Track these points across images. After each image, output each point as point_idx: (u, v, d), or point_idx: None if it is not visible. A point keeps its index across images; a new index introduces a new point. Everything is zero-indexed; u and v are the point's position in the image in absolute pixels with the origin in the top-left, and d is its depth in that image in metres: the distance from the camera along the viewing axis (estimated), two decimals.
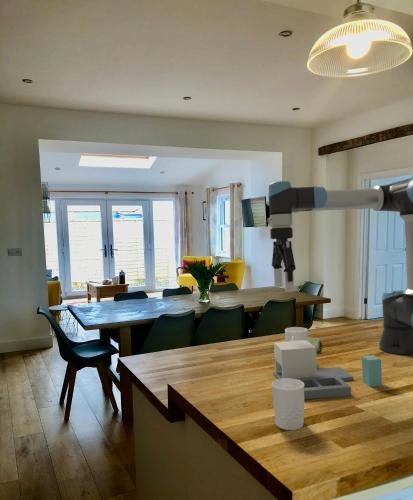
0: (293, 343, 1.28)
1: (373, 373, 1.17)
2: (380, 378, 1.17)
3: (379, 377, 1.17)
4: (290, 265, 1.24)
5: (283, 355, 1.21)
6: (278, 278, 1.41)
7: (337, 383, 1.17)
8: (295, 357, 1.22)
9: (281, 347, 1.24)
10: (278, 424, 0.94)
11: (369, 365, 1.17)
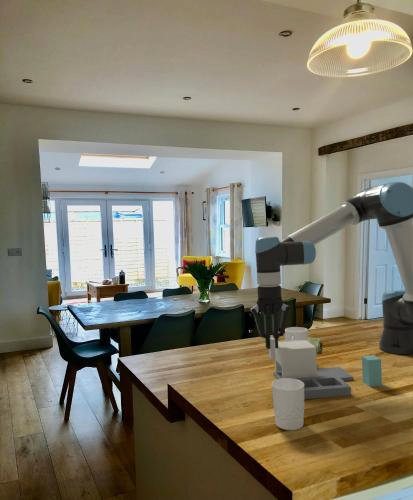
0: (293, 343, 1.28)
1: (374, 373, 1.17)
2: (380, 378, 1.17)
3: (379, 377, 1.17)
4: (259, 332, 1.25)
5: (283, 355, 1.21)
6: None
7: (337, 383, 1.17)
8: (295, 357, 1.22)
9: (281, 347, 1.24)
10: (278, 424, 0.94)
11: (369, 365, 1.17)
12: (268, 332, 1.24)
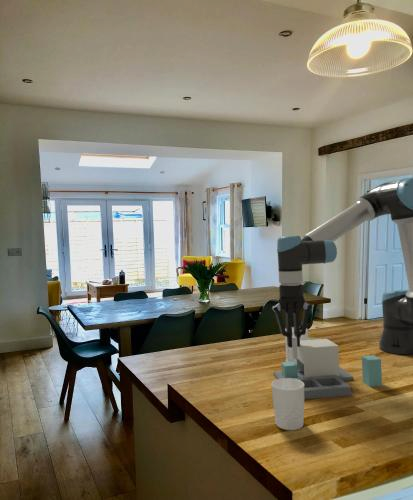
0: (314, 341, 1.28)
1: (373, 373, 1.17)
2: (380, 378, 1.17)
3: (379, 377, 1.17)
4: (281, 331, 1.26)
5: (306, 353, 1.22)
6: None
7: (337, 383, 1.17)
8: (317, 356, 1.22)
9: (303, 345, 1.24)
10: (278, 424, 0.94)
11: (369, 365, 1.17)
12: (290, 330, 1.25)
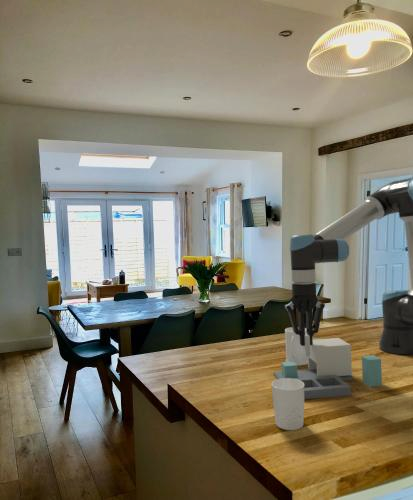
0: (326, 341, 1.29)
1: (373, 373, 1.17)
2: (380, 378, 1.17)
3: (379, 377, 1.17)
4: (294, 329, 1.26)
5: (318, 352, 1.22)
6: None
7: (337, 383, 1.17)
8: (330, 355, 1.23)
9: (316, 344, 1.25)
10: (278, 424, 0.94)
11: (369, 365, 1.17)
12: (303, 329, 1.25)
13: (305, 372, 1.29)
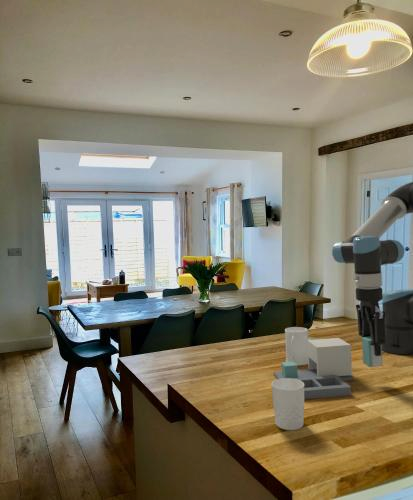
0: (326, 341, 1.29)
1: None
2: None
3: None
4: (380, 340, 1.13)
5: (318, 352, 1.22)
6: None
7: (337, 383, 1.17)
8: (330, 355, 1.23)
9: (316, 344, 1.25)
10: (278, 424, 0.94)
11: (369, 346, 1.17)
12: None
13: (305, 372, 1.29)
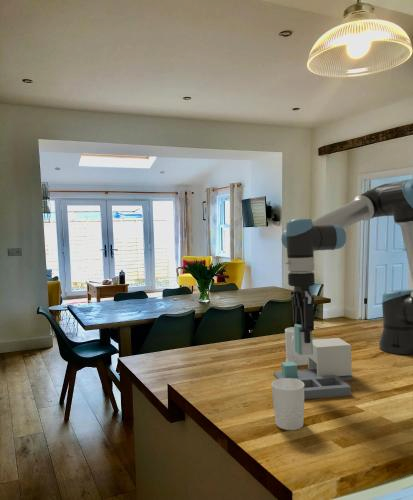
0: (326, 341, 1.29)
1: None
2: None
3: None
4: (308, 326, 1.09)
5: (318, 352, 1.22)
6: None
7: (337, 383, 1.17)
8: (330, 355, 1.23)
9: (316, 344, 1.25)
10: (278, 424, 0.94)
11: (299, 332, 1.13)
12: None
13: (305, 372, 1.29)
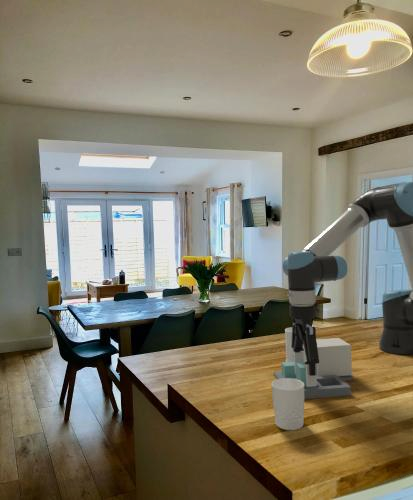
0: (326, 341, 1.29)
1: None
2: (313, 386, 1.13)
3: None
4: (313, 358, 1.07)
5: (318, 352, 1.22)
6: None
7: (337, 383, 1.17)
8: (330, 355, 1.23)
9: None
10: (278, 424, 0.94)
11: (301, 373, 1.13)
12: None
13: None
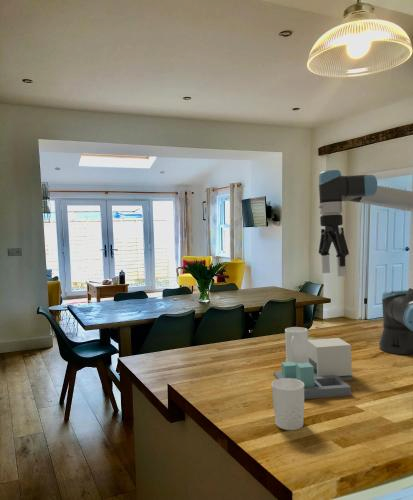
0: (326, 341, 1.29)
1: (306, 381, 1.13)
2: (313, 386, 1.13)
3: (312, 385, 1.13)
4: (343, 250, 1.29)
5: (318, 352, 1.22)
6: (325, 264, 1.45)
7: (337, 383, 1.17)
8: (330, 355, 1.23)
9: (316, 344, 1.25)
10: (278, 424, 0.94)
11: (301, 373, 1.13)
12: None
13: None
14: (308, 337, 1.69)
